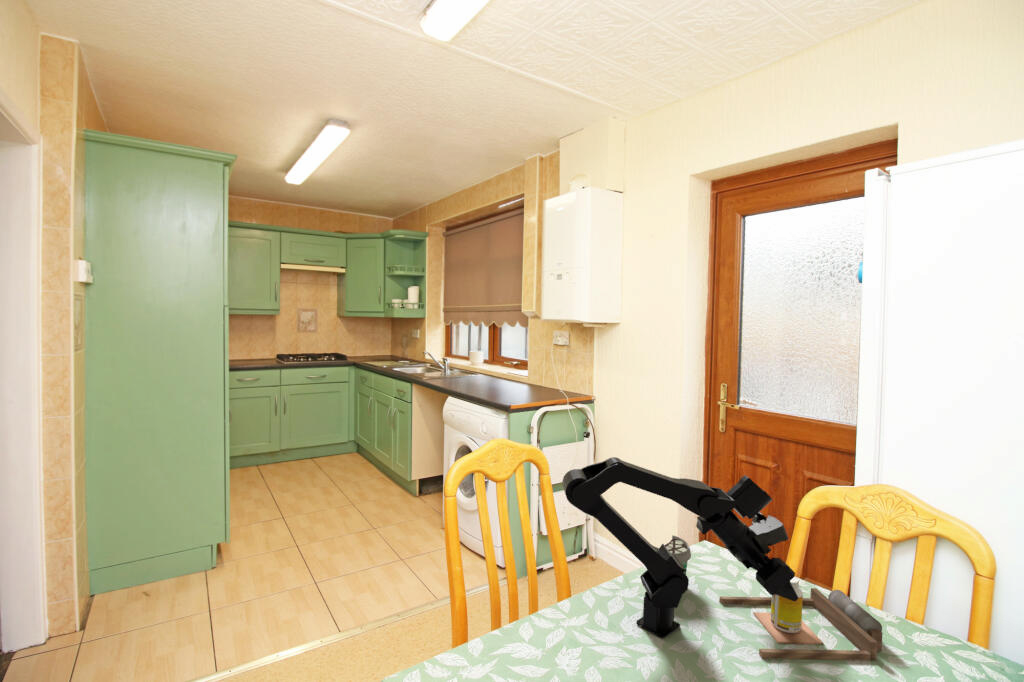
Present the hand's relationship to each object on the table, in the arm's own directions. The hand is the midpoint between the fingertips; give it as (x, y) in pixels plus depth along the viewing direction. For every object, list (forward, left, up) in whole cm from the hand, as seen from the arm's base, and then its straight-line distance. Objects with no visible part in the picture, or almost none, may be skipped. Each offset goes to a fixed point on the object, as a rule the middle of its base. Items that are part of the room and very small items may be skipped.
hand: (783, 587), depth 104 cm
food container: (-4, +22, -9) cm, 24 cm away
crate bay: (+2, -2, -9) cm, 9 cm away
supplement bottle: (+1, -1, -8) cm, 9 cm away
